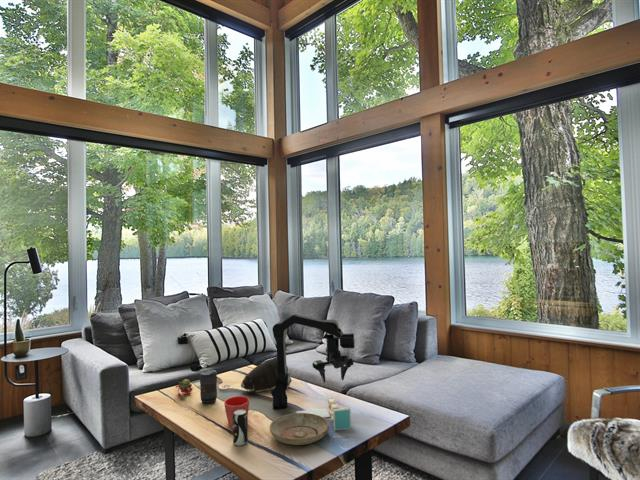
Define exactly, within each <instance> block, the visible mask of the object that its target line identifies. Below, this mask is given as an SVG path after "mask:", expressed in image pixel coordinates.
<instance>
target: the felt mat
mask: <svg viewBox="0 0 640 480" xmlns="http://www.w3.org/2000/svg"><path fill="white" fill-rule="evenodd" d="M295 413H308V414H315V415H318V416H321V417H323V418H324V419H327V417H330V414H329V411H328V410H327V408H317V409H316V408H315V409H307V410H297V411H295ZM330 418H331V417H330Z"/></svg>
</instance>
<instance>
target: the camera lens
mask: <svg viewBox="0 0 640 480" xmlns="http://www.w3.org/2000/svg"><path fill="white" fill-rule="evenodd" d="M217 375H218V373H217V370H215V369H206V370H202V371H201V372H200V373H199V385H200V387H199V388H200V389H199V390H200V395H199V396H200V401H201V404H202V405H206V406H207V405H208V406H210V405H213V404H215V403H216V402H217V397H218V390H217V389H218V388H217V387H218V385H217V383H218V380H217V379H218V376H217Z"/></svg>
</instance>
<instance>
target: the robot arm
mask: <svg viewBox="0 0 640 480" xmlns="http://www.w3.org/2000/svg"><path fill="white" fill-rule="evenodd" d="M294 324H295V325H300V326H305V327H309V328H314V329H317V330H320V331H322V332H323V333H324V335H323V336H322V338H321V339H322V340H326V349H325V353H326V358H325V361H322V360H321V359H320V360H314V361H313V362H312V368H313V369H315V370H316V371H317V372H319V375H320V376H321V380H322V382H323V384H326V369H325V368H326V367H328V366H329V367H330V366H333V367H334V369H337V370H338V369H340V379H341V381H344V380H345V376H346V373H347V371H348V369H349V368H351V367H352V366H353V365H354V359H353V358H352V357H349V356H348V355H341V350H340V347H341V349H355V348H356V345H355V344H356V339H355V333H353V332H350V333H344V332H343V330H342V329H341V328H340V325H339V322H338V321H337V320H335V319H317V318H313V317H309V316H305V315H304V316H303V315H299V314H297V313H293V314H292V315H291V316H290V317H288V318H286V319H285V320H283V321H281V320H280V321H278V322H276V323H275V324H274V325H273V326H272V329H271V330H272V335H273V338H274V340H275V343H276V344H275V345H276V347H275V348H276V357H277V366H278V374H277V378H276V385H275V387H274V388H273V389H271V390H270V394H271V396H272V410H281V409H287V406H288V394H287V392H286V391H288V388H289V387H290V385H291V383H292V373H291V372H289V371H288V372H287V367H288V364H287V352H286V348H287V347H286V340H287V339H286V338H287V335H288V329H289V328H290V327H291V326H293V325H294Z"/></svg>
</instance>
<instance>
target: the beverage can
mask: <svg viewBox="0 0 640 480" xmlns="http://www.w3.org/2000/svg"><path fill="white" fill-rule="evenodd" d="M248 416H249V414H248V415H247V413H246V411H245V410H236V411H235V412H234V415H233V426H232V443H233V445H235V446H239V447H240V446H243V445H246V444H247V443H248V442H249V423H248V422H249V417H248Z"/></svg>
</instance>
